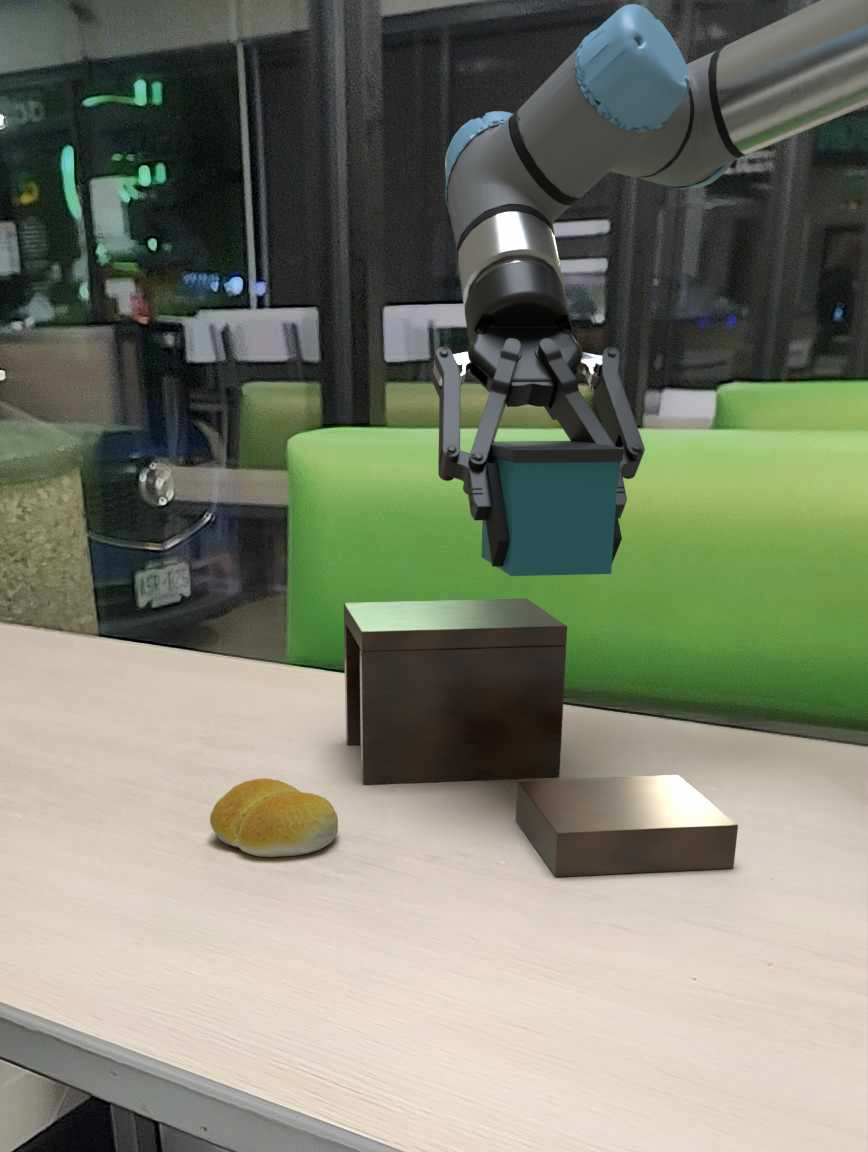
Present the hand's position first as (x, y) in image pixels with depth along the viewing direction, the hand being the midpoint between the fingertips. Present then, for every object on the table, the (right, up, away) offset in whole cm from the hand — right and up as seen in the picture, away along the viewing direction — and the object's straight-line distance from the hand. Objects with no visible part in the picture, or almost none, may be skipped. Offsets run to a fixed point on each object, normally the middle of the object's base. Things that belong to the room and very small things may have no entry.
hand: (556, 552), depth 90 cm
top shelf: (-6, -11, +22) cm, 25 cm away
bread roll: (-19, -19, +3) cm, 28 cm away
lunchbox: (0, 0, +4) cm, 4 cm away
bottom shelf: (+5, -20, +1) cm, 20 cm away
